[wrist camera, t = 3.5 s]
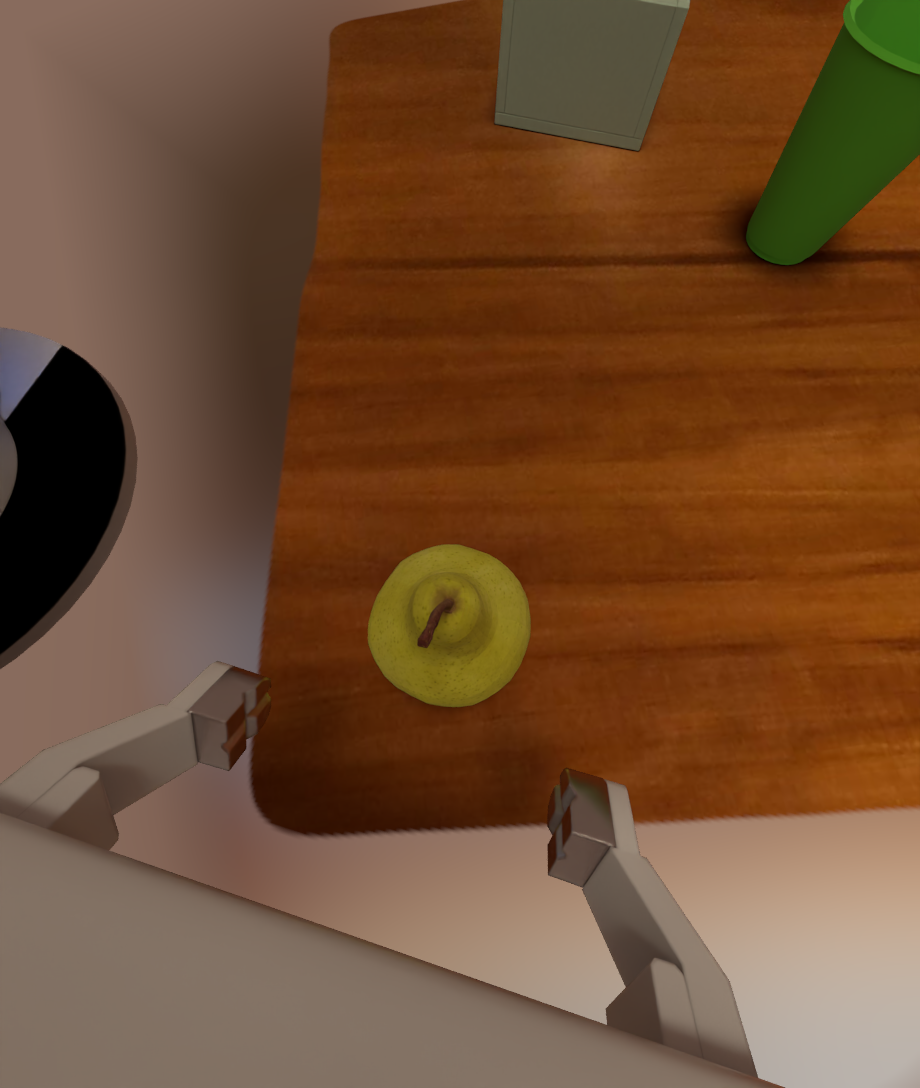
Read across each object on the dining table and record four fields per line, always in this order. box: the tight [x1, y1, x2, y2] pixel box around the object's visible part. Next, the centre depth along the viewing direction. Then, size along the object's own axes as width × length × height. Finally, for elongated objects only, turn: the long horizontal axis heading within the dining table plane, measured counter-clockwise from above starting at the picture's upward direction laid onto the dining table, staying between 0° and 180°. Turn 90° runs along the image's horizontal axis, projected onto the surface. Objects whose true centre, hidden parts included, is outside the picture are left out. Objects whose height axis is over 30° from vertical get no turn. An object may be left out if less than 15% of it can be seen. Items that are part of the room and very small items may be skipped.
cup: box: [746, 0, 920, 265], centre depth 26 cm, size 9×9×11 cm
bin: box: [495, 0, 690, 151], centre depth 33 cm, size 13×13×8 cm
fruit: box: [368, 544, 531, 707], centre depth 16 cm, size 7×7×12 cm
